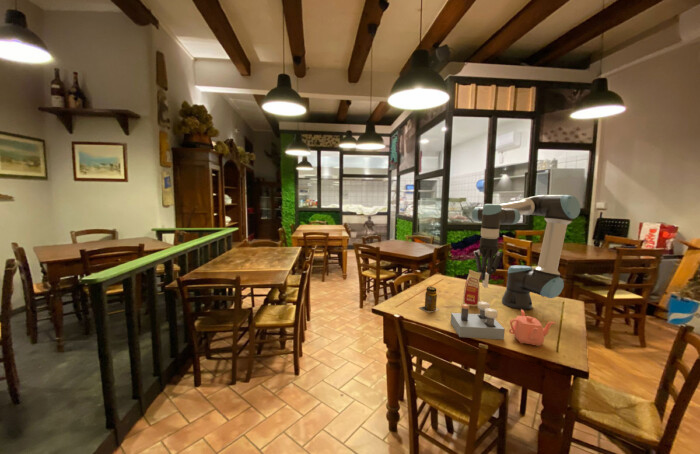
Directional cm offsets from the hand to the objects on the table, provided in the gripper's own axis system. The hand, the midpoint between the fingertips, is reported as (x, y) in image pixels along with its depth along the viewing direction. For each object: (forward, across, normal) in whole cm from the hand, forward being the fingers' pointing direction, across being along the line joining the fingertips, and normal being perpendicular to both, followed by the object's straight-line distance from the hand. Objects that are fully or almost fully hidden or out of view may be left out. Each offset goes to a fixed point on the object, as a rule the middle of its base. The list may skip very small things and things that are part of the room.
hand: (484, 286), depth 128 cm
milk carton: (+20, -6, -30) cm, 37 cm away
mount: (+20, +4, +4) cm, 21 cm away
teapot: (+20, -17, +11) cm, 28 cm away
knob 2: (+16, 0, +8) cm, 18 cm away
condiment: (+21, +21, -18) cm, 35 cm away
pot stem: (+15, +10, +4) cm, 18 cm away
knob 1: (+16, 0, 0) cm, 16 cm away
